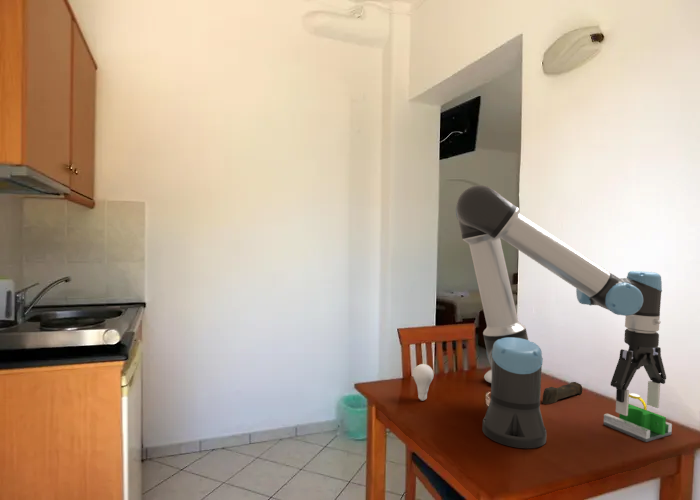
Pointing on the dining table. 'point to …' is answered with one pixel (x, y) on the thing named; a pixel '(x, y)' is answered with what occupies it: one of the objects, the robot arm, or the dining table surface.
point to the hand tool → (561, 392)
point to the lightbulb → (423, 379)
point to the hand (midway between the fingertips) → (637, 410)
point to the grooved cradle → (634, 428)
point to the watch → (638, 399)
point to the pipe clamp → (645, 419)
